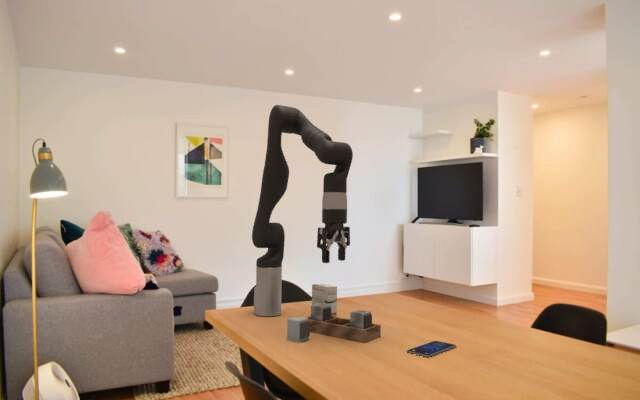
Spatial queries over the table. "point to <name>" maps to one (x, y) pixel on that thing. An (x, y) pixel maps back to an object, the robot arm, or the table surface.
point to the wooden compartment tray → (343, 324)
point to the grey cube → (298, 329)
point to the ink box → (325, 296)
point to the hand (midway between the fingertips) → (333, 261)
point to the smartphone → (431, 349)
